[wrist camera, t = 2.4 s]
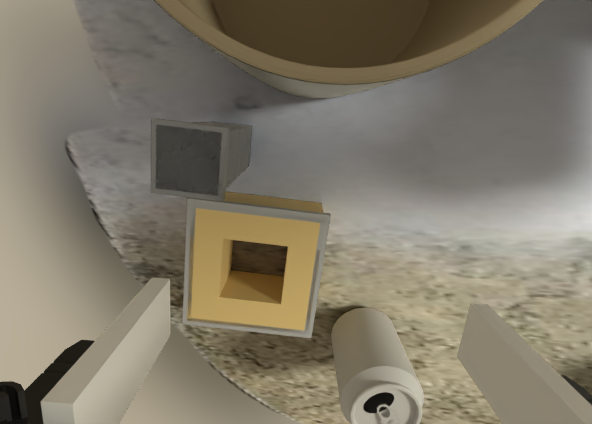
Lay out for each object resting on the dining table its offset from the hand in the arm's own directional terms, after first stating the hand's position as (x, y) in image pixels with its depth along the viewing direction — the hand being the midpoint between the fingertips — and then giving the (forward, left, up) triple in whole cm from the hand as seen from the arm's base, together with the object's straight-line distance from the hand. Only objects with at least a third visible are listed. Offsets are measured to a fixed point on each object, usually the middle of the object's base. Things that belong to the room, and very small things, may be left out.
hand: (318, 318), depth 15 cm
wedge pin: (-5, -8, -22) cm, 24 cm away
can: (+15, +9, -22) cm, 28 cm away
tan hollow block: (+6, -4, -22) cm, 23 cm away
